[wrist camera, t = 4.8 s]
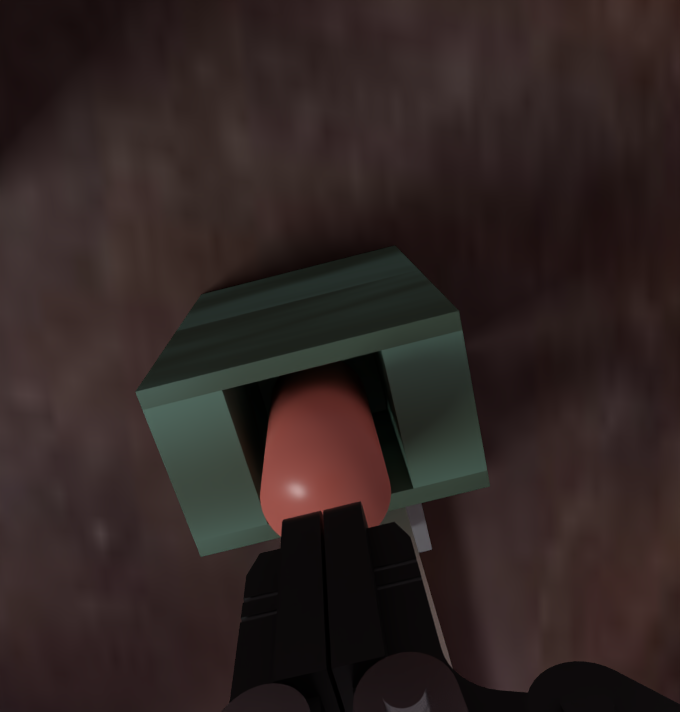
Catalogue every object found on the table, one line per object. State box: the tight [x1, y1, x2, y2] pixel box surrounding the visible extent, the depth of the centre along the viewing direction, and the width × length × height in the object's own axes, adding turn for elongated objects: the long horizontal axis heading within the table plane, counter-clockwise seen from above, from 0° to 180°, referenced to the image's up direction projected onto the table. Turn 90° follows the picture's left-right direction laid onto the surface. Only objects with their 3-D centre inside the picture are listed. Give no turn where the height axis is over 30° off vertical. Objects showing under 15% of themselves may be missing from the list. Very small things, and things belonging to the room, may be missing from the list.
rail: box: [136, 246, 490, 557], centre depth 23 cm, size 26×8×10 cm, turn 13°
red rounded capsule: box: [260, 361, 391, 536], centre depth 15 cm, size 3×3×5 cm
